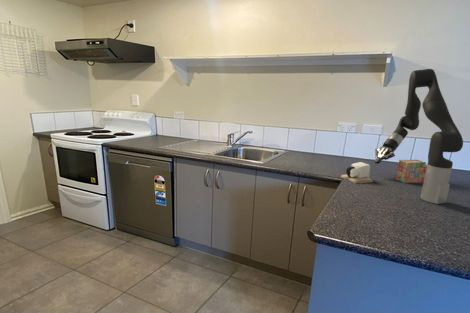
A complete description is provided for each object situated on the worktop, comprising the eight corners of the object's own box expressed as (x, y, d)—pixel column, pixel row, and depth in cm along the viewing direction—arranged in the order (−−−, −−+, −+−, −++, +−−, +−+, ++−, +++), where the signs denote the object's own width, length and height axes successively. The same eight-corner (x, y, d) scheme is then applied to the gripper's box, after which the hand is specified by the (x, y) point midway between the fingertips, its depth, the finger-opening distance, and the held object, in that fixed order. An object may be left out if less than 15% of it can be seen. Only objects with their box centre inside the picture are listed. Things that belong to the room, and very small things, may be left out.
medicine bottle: (360, 172, 165) (344, 176, 161) (360, 161, 163) (344, 165, 159) (369, 176, 158) (353, 180, 154) (370, 164, 156) (353, 168, 152)
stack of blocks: (426, 179, 165) (430, 159, 163) (435, 182, 159) (440, 162, 157) (395, 179, 162) (399, 159, 159) (403, 182, 156) (407, 162, 153)
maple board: (372, 181, 155) (372, 179, 155) (356, 183, 151) (356, 181, 151) (356, 175, 166) (357, 173, 166) (341, 176, 162) (341, 174, 161)
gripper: (381, 136, 170) (364, 156, 168) (401, 140, 158) (383, 161, 156) (385, 144, 173) (369, 163, 171) (405, 148, 162) (388, 169, 160)
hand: (376, 162), depth 164 cm, fingers closed
